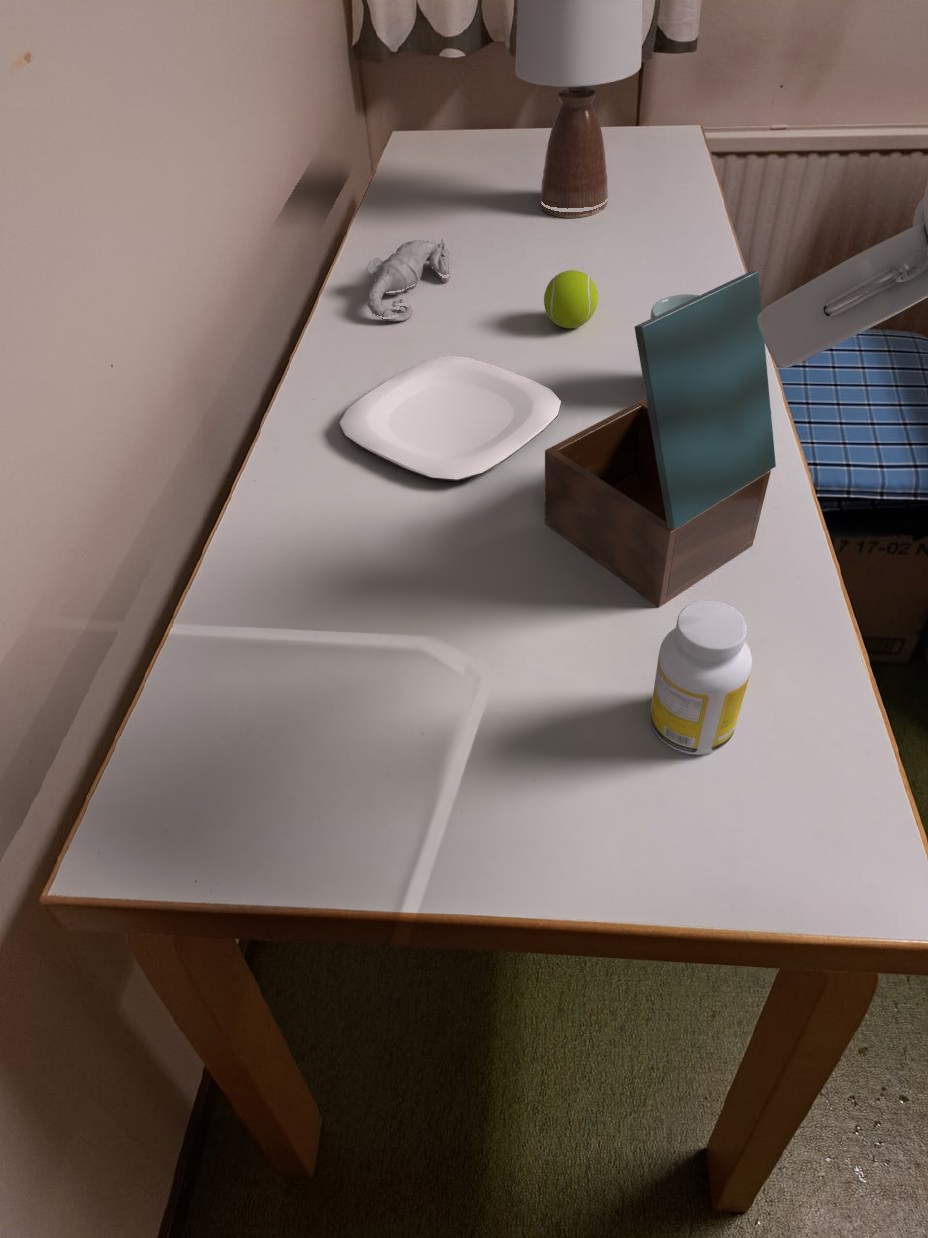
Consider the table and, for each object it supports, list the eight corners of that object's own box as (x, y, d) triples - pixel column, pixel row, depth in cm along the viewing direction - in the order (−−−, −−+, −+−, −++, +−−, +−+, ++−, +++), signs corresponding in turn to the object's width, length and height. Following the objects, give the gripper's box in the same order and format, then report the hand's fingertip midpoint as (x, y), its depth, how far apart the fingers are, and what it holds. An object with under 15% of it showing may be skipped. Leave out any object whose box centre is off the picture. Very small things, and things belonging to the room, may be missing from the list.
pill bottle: (735, 699, 67) (763, 597, 59) (731, 766, 63) (760, 666, 55) (653, 685, 69) (669, 584, 60) (643, 750, 64) (659, 650, 56)
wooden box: (544, 523, 84) (544, 450, 77) (634, 471, 88) (642, 399, 82) (659, 608, 75) (670, 532, 68) (752, 545, 79) (771, 470, 73)
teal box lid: (633, 326, 60) (641, 326, 60) (750, 271, 65) (758, 270, 64) (667, 527, 68) (674, 529, 68) (768, 465, 73) (776, 466, 72)
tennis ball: (596, 311, 113) (599, 260, 108) (596, 337, 108) (599, 284, 103) (544, 312, 114) (544, 261, 109) (542, 338, 109) (543, 285, 104)
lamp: (557, 238, 130) (561, -65, 104) (497, 201, 142) (487, -79, 115) (653, 208, 136) (681, -87, 109) (588, 175, 147) (598, -98, 121)
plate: (460, 505, 86) (459, 492, 85) (319, 435, 97) (316, 423, 96) (582, 410, 97) (583, 397, 96) (443, 356, 108) (442, 344, 106)
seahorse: (436, 318, 112) (461, 235, 123) (353, 291, 111) (386, 209, 122) (428, 348, 117) (453, 265, 128) (348, 322, 115) (380, 240, 126)
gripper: (916, 338, 40) (722, 424, 53) (1130, 214, 48) (916, 316, 60) (862, 214, 39) (679, 332, 52) (1088, 109, 47) (881, 234, 60)
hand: (808, 322), depth 56 cm, fingers closed
